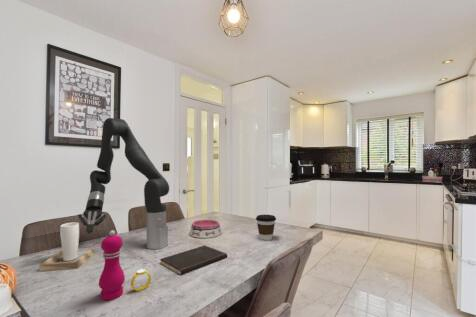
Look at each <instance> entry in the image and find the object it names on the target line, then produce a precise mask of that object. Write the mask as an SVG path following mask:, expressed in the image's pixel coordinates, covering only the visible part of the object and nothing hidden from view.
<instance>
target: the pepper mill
mask: <svg viewBox="0 0 476 317" xmlns="http://www.w3.org/2000/svg"><path fill="white" fill-rule="evenodd" d="M123 244H124V243H123V239H122V237H121V236H120V235H118V234H116V230H113V229H111V230H109V232H108V235H107V236H106V237H104V238H103V239H102V241H101V244H100V247H101V250H102V251H103V253H102V254H103V255H102V257H103V259H104V266H103V268H102V269H103V270H102V272H101V274H100V277H99V280H98V287H99V288H100V299H101V300H103V301H111V300H116V299H117V298H120V297H121V296H122V295H123V293H124V286H123V284H124V283H125V281H126V277H125V273H124V271H123V269H122V266H121V263H120V256H121V255H122V253H121V252H122V250H121V248H122V246H123Z"/></svg>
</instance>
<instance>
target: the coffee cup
mask: <svg viewBox="0 0 476 317" xmlns="http://www.w3.org/2000/svg"><path fill="white" fill-rule="evenodd" d="M255 220H256V224H257V231H258V234H259V239H260V240H261V241H267V242H268V241H271V240H273V237H274V231H275V224H276V223H275V221H276V220H277V217H276V216H275V215H274V214H273V215H272V214H259V215H257V216H256V217H255Z"/></svg>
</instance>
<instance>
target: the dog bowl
mask: <svg viewBox="0 0 476 317" xmlns="http://www.w3.org/2000/svg"><path fill="white" fill-rule="evenodd" d="M222 234H223V233H222V229H221V225H220V222H219V221H218V220H215V219H199V220H195V221H193V222H192V223H191V225H190V231H189V236H190V237H191V238H194V239H201V240H202V239H204V240H206V239H214V238H218V237H220V236H221V235H222Z"/></svg>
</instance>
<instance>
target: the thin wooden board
mask: <svg viewBox="0 0 476 317" xmlns="http://www.w3.org/2000/svg"><path fill="white" fill-rule="evenodd" d="M95 253H96V252H95V247H91V248H90V249H89V250H87V251H86V252H85V253H84V254H82V256H81V257H79V258H77V260H76V261H75V260H71V261H63V262H58V261H59V260H60V259H63V252H62V250H60V251H58V252H57V253H55V254H54V255H52V256H51V257H49V258H48V259H46V260H45V261H44V262H42V263H40V264H39V268H38V269H39V272H47V271H48V272H49V271H60V270H75V269H79V268H80V267H82V265H84V264H85V263H86V262H87V261H88V260H90V258H91V257H93V256H94V254H95Z"/></svg>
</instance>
